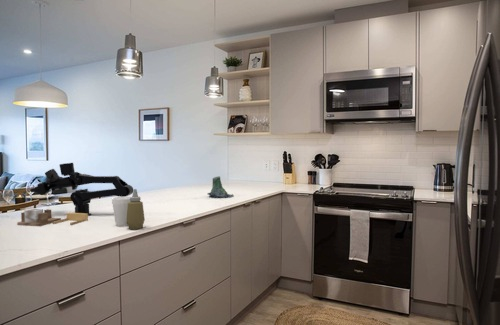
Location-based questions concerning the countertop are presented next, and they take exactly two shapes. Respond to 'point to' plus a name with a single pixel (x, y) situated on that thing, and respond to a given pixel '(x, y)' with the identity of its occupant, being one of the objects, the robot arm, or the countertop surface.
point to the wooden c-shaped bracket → (74, 218)
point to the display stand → (36, 217)
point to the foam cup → (120, 210)
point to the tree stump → (218, 189)
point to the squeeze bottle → (135, 212)
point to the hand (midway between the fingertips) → (35, 188)
